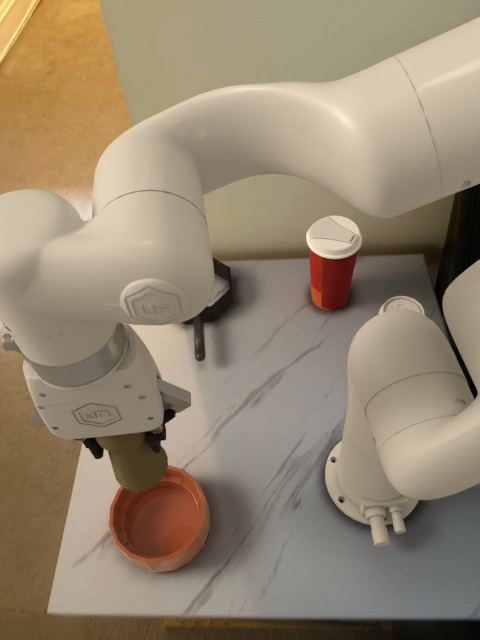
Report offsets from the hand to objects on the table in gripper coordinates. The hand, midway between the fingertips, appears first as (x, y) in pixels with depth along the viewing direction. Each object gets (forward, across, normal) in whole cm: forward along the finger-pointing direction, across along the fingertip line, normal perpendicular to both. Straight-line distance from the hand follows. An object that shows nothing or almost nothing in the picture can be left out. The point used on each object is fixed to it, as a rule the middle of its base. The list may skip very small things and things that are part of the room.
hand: (128, 441), depth 57 cm
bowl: (+22, 0, -1) cm, 22 cm away
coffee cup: (+22, +28, +34) cm, 49 cm away
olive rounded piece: (+6, 0, 0) cm, 6 cm away
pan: (+22, +6, +32) cm, 39 cm away
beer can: (+22, +34, +18) cm, 44 cm away
